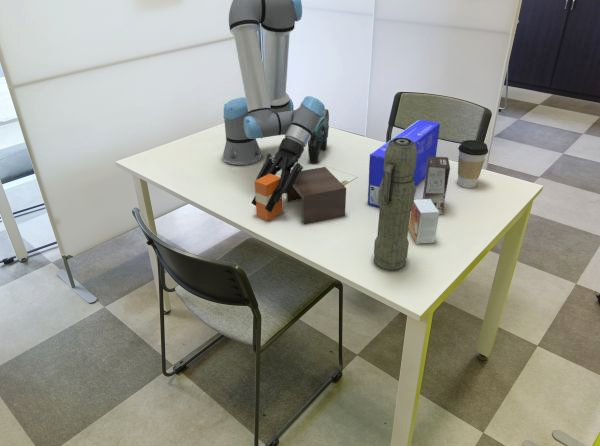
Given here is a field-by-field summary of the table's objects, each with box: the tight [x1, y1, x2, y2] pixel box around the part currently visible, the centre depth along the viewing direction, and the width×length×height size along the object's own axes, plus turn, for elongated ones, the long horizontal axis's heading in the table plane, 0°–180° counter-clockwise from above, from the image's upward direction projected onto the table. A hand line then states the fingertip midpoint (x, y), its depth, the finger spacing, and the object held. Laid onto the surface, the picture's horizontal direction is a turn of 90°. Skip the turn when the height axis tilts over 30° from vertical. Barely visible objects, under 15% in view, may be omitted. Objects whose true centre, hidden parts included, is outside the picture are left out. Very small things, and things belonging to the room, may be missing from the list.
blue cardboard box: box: [367, 119, 441, 209], centre depth 167 cm, size 39×8×18 cm, turn 145°
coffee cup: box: [457, 139, 489, 189], centre depth 168 cm, size 10×10×15 cm
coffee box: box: [422, 156, 451, 215], centre depth 154 cm, size 9×6×16 cm
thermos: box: [373, 138, 417, 272], centre depth 123 cm, size 9×12×35 cm
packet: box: [254, 174, 284, 222], centre depth 152 cm, size 5×7×12 cm
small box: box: [408, 198, 440, 245], centre depth 140 cm, size 8×6×10 cm
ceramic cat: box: [307, 108, 330, 165], centre depth 191 cm, size 20×6×20 cm, turn 164°
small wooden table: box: [285, 166, 347, 225], centre depth 156 cm, size 17×14×10 cm
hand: (261, 207), depth 150 cm, fingers closed on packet, 5 cm apart
